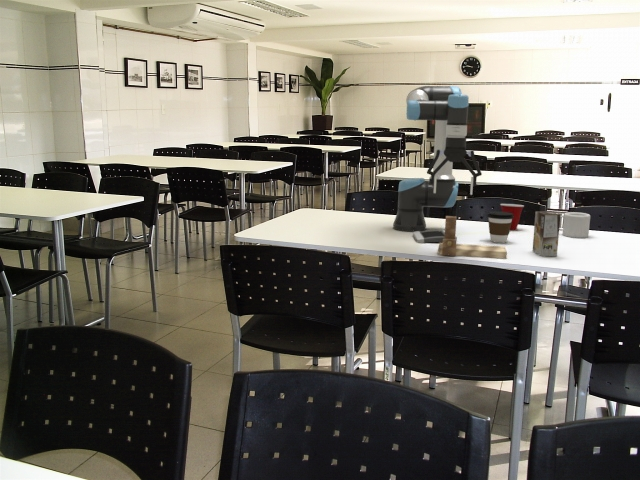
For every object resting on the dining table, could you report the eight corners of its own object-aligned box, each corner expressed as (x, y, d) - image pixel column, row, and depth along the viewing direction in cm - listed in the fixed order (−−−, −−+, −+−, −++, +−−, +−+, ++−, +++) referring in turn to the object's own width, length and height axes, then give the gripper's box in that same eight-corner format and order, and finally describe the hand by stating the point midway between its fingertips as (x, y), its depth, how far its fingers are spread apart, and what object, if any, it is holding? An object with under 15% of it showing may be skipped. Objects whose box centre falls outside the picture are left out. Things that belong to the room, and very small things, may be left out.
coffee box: (557, 256, 233) (561, 214, 230) (541, 256, 233) (545, 214, 229) (547, 251, 242) (550, 210, 239) (531, 251, 242) (534, 210, 238)
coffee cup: (498, 244, 253) (500, 216, 250) (479, 239, 262) (481, 212, 260) (517, 242, 258) (519, 214, 255) (499, 237, 267) (501, 210, 265)
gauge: (441, 255, 230) (443, 220, 227) (443, 247, 244) (444, 214, 241) (455, 256, 229) (457, 220, 226) (455, 248, 243) (457, 214, 240)
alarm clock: (457, 237, 253) (417, 233, 253) (455, 248, 254) (416, 244, 254) (449, 229, 269) (412, 225, 270) (448, 239, 270) (411, 236, 271)
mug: (588, 235, 277) (590, 213, 275) (587, 239, 267) (590, 216, 265) (556, 232, 282) (558, 210, 280) (554, 236, 273) (556, 214, 271)
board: (438, 254, 233) (438, 247, 233) (439, 248, 243) (439, 242, 243) (506, 258, 228) (506, 251, 228) (504, 252, 238) (505, 246, 237)
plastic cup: (523, 228, 290) (526, 203, 288) (520, 232, 281) (522, 206, 279) (500, 226, 295) (502, 201, 293) (496, 229, 286) (498, 204, 283)
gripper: (421, 136, 228) (419, 193, 232) (491, 138, 222) (487, 196, 227) (422, 136, 235) (420, 191, 239) (490, 137, 230) (486, 193, 234)
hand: (452, 193), depth 233 cm, fingers open, 13 cm apart
